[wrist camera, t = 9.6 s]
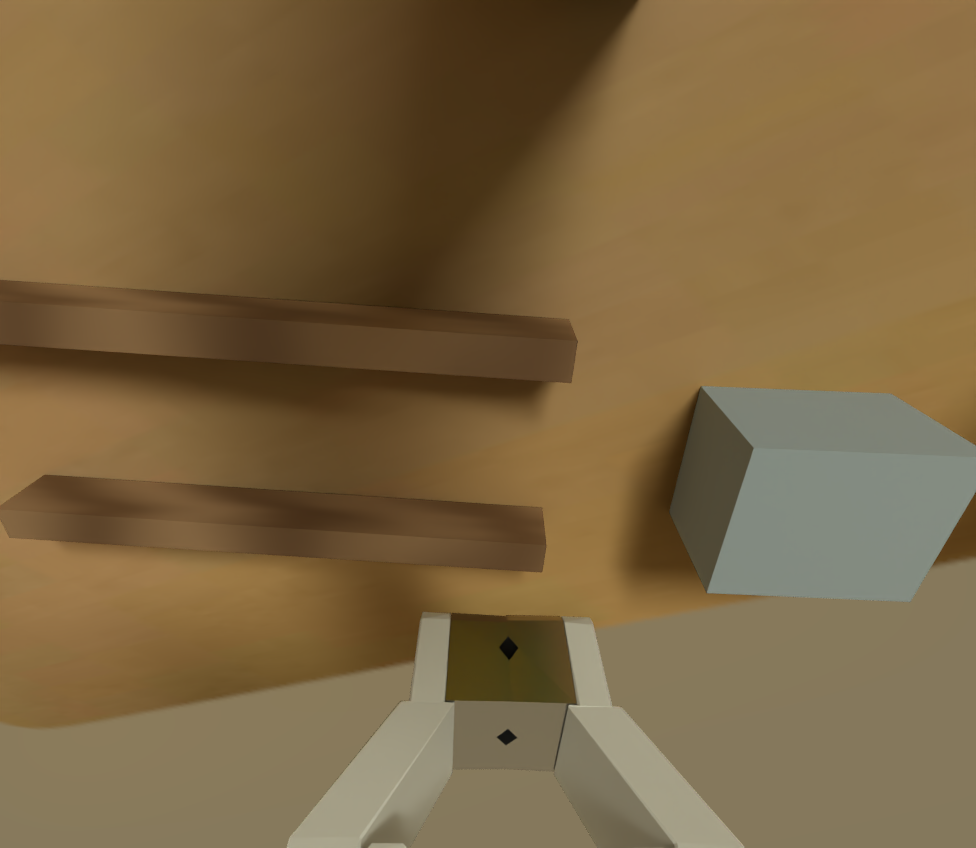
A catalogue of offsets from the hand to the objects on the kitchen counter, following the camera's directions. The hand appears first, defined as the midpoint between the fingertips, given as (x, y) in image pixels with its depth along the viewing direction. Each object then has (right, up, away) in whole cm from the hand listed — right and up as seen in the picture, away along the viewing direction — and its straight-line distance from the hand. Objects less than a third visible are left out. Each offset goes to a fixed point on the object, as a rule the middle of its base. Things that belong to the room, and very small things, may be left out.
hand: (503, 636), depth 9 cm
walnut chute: (-7, +4, +8) cm, 11 cm away
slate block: (+9, +3, +8) cm, 13 cm away
